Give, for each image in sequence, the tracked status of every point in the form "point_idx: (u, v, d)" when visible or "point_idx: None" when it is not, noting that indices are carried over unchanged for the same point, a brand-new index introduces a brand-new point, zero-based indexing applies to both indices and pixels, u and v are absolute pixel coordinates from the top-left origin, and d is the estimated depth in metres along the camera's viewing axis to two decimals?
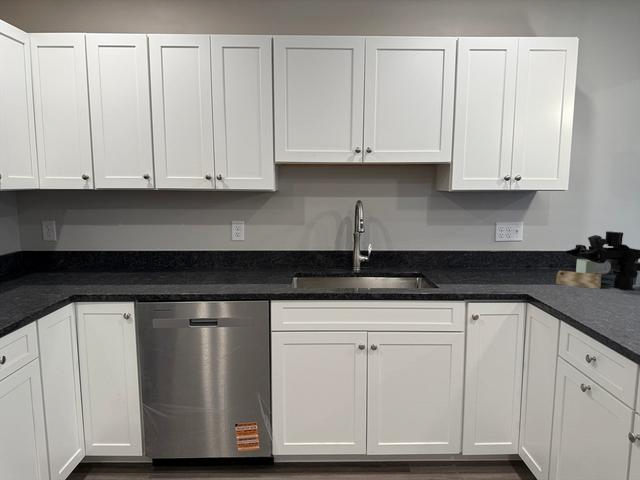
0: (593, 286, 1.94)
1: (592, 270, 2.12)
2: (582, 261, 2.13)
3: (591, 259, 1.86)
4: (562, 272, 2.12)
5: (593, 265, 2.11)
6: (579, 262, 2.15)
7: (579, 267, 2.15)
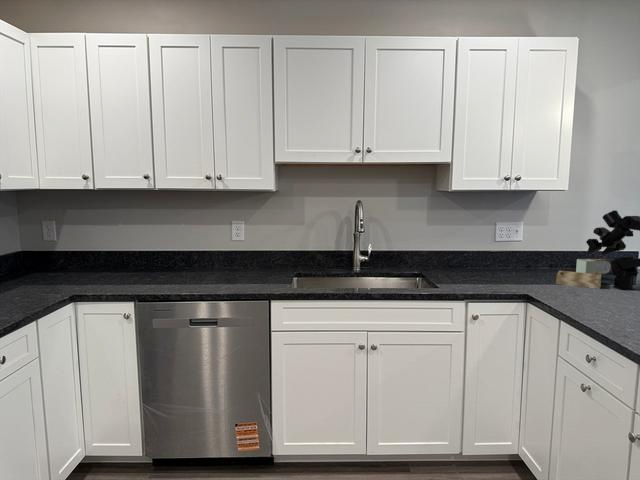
0: (593, 286, 1.94)
1: (592, 270, 2.12)
2: (582, 261, 2.13)
3: (593, 251, 2.02)
4: (562, 272, 2.12)
5: (593, 265, 2.11)
6: (579, 262, 2.15)
7: (579, 267, 2.15)
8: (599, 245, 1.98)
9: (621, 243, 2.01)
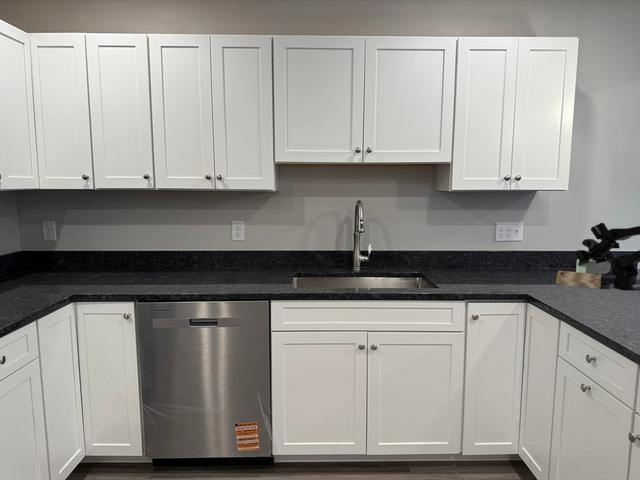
0: (593, 286, 1.94)
1: (592, 270, 2.12)
2: None
3: (584, 262, 2.09)
4: (562, 272, 2.12)
5: (593, 265, 2.11)
6: None
7: (579, 267, 2.15)
8: (587, 256, 2.05)
9: (609, 254, 2.08)
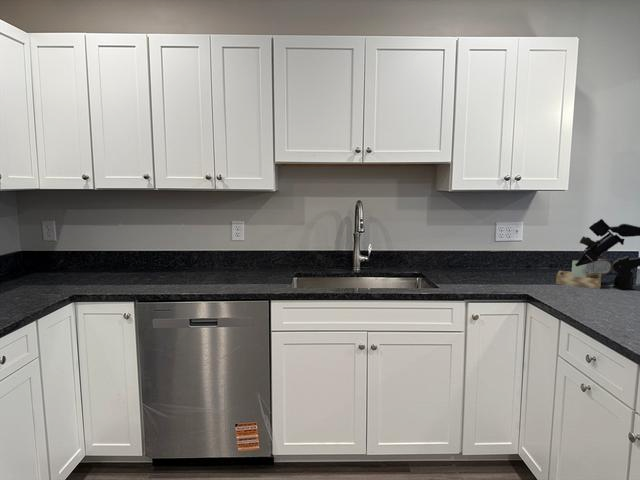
0: (593, 286, 1.94)
1: (586, 272, 2.02)
2: None
3: (588, 262, 1.95)
4: (562, 272, 2.12)
5: None
6: None
7: (576, 270, 2.01)
8: (597, 255, 1.93)
9: None
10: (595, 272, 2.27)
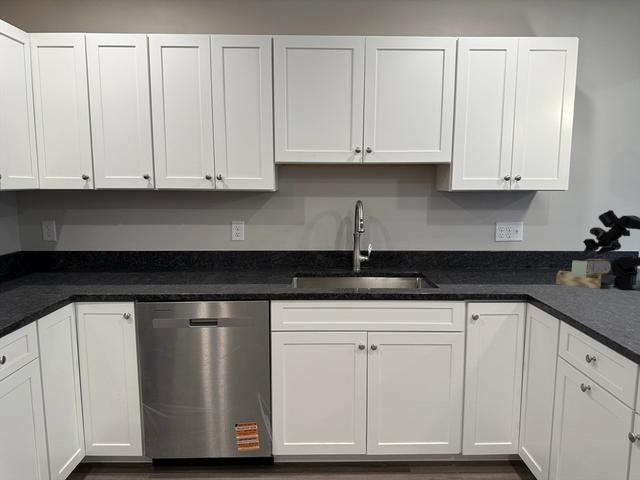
0: (593, 286, 1.94)
1: (586, 272, 2.02)
2: (580, 263, 2.00)
3: (589, 251, 2.02)
4: (562, 272, 2.12)
5: None
6: (576, 265, 2.01)
7: (576, 270, 2.01)
8: (596, 245, 1.99)
9: (616, 243, 2.03)
10: (595, 272, 2.27)
